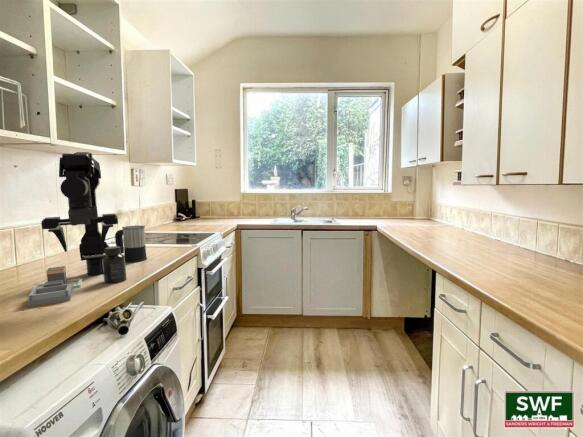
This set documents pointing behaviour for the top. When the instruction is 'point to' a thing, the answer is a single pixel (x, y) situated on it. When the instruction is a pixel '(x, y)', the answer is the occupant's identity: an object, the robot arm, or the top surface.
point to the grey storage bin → (51, 293)
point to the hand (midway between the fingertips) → (84, 249)
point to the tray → (76, 283)
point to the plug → (57, 274)
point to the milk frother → (132, 243)
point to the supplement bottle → (114, 265)
